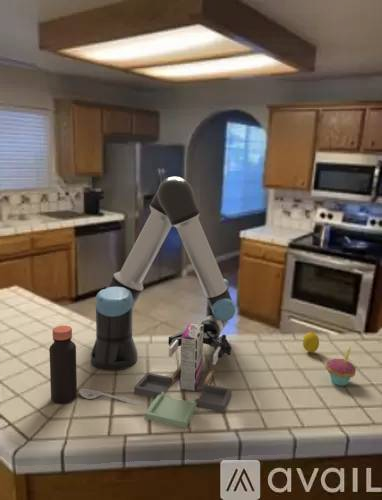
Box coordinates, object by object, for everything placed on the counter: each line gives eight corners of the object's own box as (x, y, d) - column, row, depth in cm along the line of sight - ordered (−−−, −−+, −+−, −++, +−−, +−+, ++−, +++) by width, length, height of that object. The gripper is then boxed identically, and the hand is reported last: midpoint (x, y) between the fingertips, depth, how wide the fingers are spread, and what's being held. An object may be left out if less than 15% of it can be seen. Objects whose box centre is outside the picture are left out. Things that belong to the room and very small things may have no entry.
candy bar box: (186, 371, 126) (188, 322, 123) (202, 373, 125) (204, 324, 122) (178, 389, 115) (180, 336, 112) (195, 391, 114) (197, 338, 111)
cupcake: (353, 378, 125) (357, 342, 123) (354, 391, 117) (359, 354, 115) (324, 372, 128) (328, 338, 126) (324, 385, 120) (328, 349, 118)
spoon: (82, 391, 113) (82, 386, 113) (151, 401, 109) (152, 396, 109) (75, 399, 109) (75, 393, 109) (147, 410, 105) (147, 404, 105)
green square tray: (144, 418, 101) (144, 413, 101) (160, 396, 111) (160, 391, 111) (185, 428, 98) (185, 422, 97) (198, 404, 108) (198, 399, 108)
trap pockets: (133, 393, 112) (134, 387, 112) (146, 378, 120) (146, 372, 120) (223, 412, 105) (224, 406, 104) (230, 395, 113) (231, 388, 113)
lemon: (299, 349, 145) (301, 328, 143) (314, 349, 145) (316, 328, 144) (305, 356, 139) (307, 335, 138) (320, 356, 140) (322, 335, 138)
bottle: (62, 407, 104) (60, 336, 101) (45, 399, 108) (43, 330, 104) (82, 395, 110) (80, 328, 106) (65, 388, 114) (63, 322, 110)
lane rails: (170, 383, 118) (170, 378, 118) (180, 368, 127) (180, 364, 127) (205, 390, 115) (205, 385, 115) (213, 375, 124) (213, 370, 124)
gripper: (245, 346, 134) (232, 375, 114) (175, 334, 141) (152, 360, 121) (246, 325, 132) (234, 351, 112) (175, 314, 139) (152, 337, 119)
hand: (191, 356), depth 116 cm, fingers open, 13 cm apart
